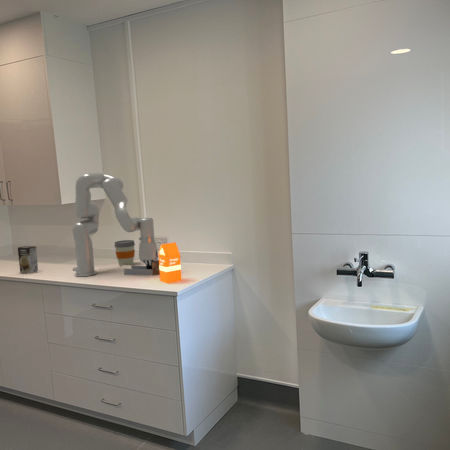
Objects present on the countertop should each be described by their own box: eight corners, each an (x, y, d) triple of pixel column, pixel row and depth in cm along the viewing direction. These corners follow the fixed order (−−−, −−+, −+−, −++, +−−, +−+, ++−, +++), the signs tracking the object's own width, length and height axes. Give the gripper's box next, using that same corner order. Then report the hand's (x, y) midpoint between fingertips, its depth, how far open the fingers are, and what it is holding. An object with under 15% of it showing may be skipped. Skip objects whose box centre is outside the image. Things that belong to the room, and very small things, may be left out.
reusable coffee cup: (139, 262, 303) (137, 239, 302) (131, 266, 291) (130, 242, 289) (120, 263, 306) (119, 240, 304) (112, 267, 293) (111, 243, 292)
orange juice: (181, 280, 246) (179, 243, 244) (167, 283, 241) (164, 245, 239) (174, 278, 253) (172, 241, 250) (160, 281, 248) (157, 243, 245)
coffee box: (19, 273, 289) (17, 247, 287) (27, 271, 295) (24, 245, 293) (31, 273, 285) (28, 247, 284) (38, 271, 291) (36, 245, 290)
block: (152, 274, 261) (151, 262, 260) (157, 272, 266) (156, 260, 265) (162, 274, 258) (161, 262, 258) (167, 272, 264) (166, 260, 263)
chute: (124, 275, 265) (123, 269, 265) (132, 272, 274) (132, 265, 273) (152, 276, 259) (151, 269, 258) (160, 273, 267) (159, 266, 267)
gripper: (132, 240, 261) (134, 272, 263) (156, 240, 256) (158, 273, 258) (139, 238, 268) (141, 270, 270) (162, 238, 263) (164, 270, 265)
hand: (149, 271), depth 264 cm, fingers closed
